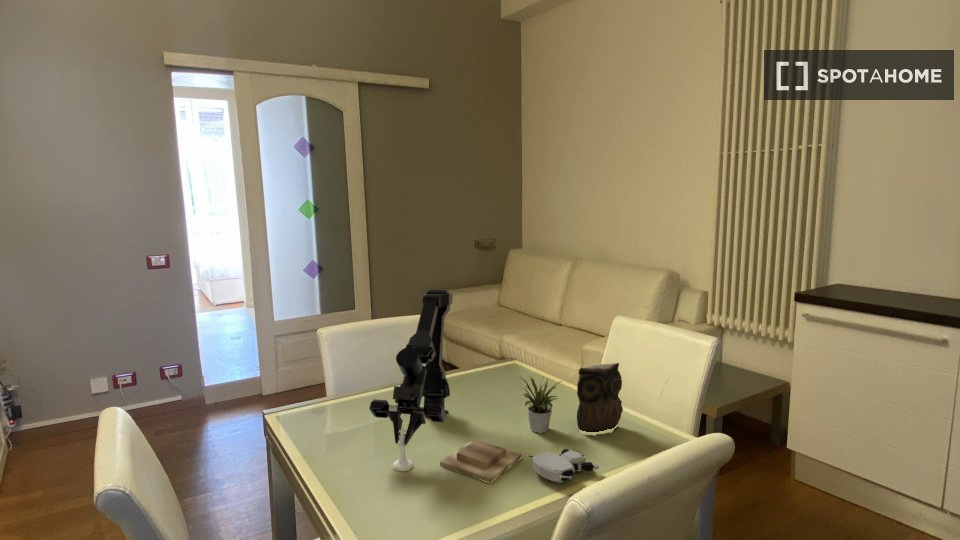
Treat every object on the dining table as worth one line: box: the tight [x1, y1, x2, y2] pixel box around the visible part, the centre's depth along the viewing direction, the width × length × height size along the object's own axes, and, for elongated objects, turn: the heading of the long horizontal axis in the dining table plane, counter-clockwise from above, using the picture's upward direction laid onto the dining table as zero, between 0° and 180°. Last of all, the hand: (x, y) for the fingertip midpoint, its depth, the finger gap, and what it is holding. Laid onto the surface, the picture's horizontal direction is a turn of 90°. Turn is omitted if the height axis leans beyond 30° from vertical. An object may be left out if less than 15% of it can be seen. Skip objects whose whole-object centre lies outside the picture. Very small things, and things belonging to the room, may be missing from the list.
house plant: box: [516, 375, 563, 434], centre depth 152 cm, size 14×14×16 cm
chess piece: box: [392, 427, 414, 472], centre depth 130 cm, size 5×5×10 cm
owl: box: [576, 362, 624, 432], centre depth 151 cm, size 13×13×20 cm
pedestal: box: [439, 438, 523, 484], centre depth 133 cm, size 15×15×3 cm
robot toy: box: [525, 448, 600, 484], centre depth 128 cm, size 12×4×15 cm
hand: (400, 443), depth 128 cm, fingers closed on chess piece
